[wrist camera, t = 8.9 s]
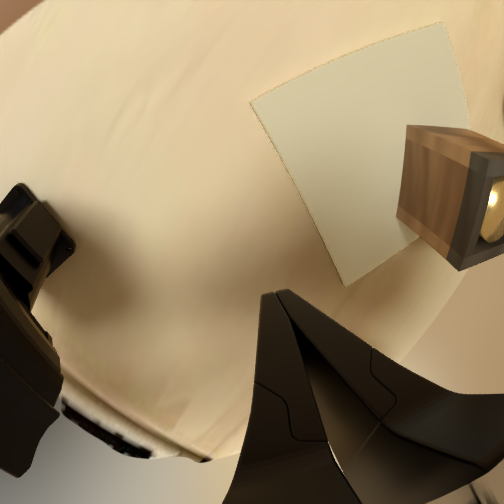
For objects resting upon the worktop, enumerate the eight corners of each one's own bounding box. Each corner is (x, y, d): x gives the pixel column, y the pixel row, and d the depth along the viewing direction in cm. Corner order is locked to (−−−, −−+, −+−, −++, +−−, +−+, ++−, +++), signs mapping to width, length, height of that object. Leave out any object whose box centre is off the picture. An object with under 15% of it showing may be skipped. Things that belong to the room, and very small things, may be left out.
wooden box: (393, 214, 24) (458, 271, 17) (403, 123, 20) (488, 159, 13) (451, 204, 25) (511, 249, 18) (463, 127, 21) (536, 161, 14)
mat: (343, 284, 27) (345, 287, 27) (248, 102, 17) (250, 102, 16) (474, 191, 25) (477, 193, 25) (440, 22, 15) (443, 22, 15)
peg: (414, 201, 23) (476, 248, 17) (422, 144, 20) (494, 181, 14) (450, 196, 24) (508, 236, 17) (459, 145, 21) (524, 179, 15)
